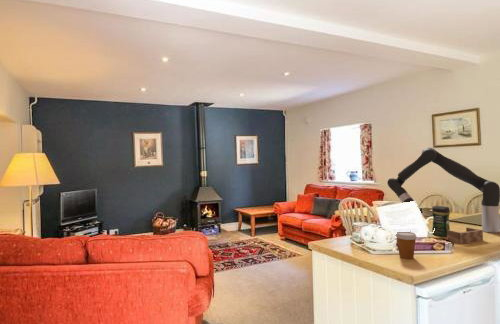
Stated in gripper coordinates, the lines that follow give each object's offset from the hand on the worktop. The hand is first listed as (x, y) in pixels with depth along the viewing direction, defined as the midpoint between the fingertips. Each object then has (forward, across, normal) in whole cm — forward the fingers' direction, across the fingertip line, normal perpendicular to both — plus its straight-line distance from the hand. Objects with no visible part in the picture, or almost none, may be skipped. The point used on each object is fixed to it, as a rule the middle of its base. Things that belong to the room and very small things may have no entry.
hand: (422, 220), depth 219 cm
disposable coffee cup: (+33, -57, -22) cm, 69 cm away
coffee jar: (+15, 0, -5) cm, 16 cm away
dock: (+26, 0, -16) cm, 30 cm away
